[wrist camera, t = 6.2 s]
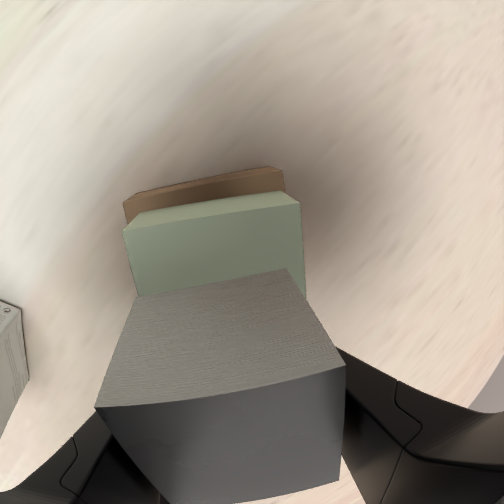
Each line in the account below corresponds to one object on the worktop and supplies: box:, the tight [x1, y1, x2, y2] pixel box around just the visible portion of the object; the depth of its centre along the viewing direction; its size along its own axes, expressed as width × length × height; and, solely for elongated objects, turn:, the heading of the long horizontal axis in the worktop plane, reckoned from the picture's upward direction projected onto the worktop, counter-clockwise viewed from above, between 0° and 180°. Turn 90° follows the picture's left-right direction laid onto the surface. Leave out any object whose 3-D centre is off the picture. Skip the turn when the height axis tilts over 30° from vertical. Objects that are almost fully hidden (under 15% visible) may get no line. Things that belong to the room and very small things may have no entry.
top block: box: [122, 191, 306, 299], centre depth 15 cm, size 7×7×4 cm
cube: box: [94, 268, 346, 504], centre depth 8 cm, size 4×4×4 cm
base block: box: [123, 167, 285, 224], centre depth 18 cm, size 8×8×4 cm
